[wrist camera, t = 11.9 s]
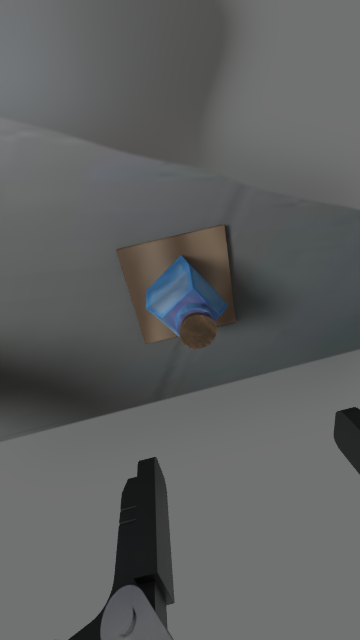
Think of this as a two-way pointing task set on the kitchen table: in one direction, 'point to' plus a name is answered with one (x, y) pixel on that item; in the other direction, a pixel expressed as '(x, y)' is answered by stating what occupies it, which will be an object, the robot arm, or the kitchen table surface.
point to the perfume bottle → (186, 304)
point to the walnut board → (157, 256)
